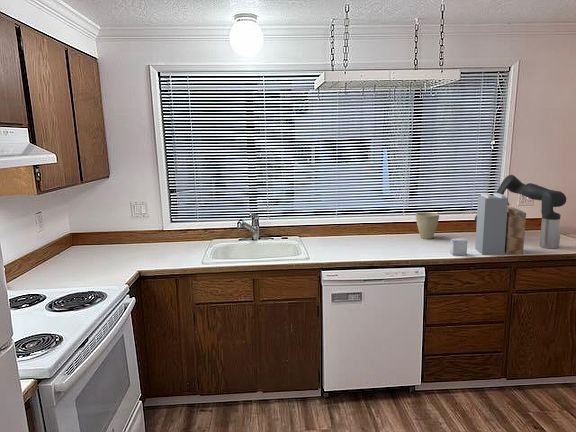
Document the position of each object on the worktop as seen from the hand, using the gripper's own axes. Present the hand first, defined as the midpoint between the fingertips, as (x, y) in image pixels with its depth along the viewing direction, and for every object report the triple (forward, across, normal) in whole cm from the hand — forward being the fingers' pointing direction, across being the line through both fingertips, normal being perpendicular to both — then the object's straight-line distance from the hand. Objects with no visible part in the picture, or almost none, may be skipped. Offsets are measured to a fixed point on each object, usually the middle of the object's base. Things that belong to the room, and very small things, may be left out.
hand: (500, 202), depth 263 cm
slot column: (+5, -12, +32) cm, 34 cm away
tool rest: (+4, 0, +31) cm, 32 cm away
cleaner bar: (+13, 0, +12) cm, 18 cm away
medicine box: (+10, -31, +35) cm, 48 cm away
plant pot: (-26, -40, +15) cm, 50 cm away
